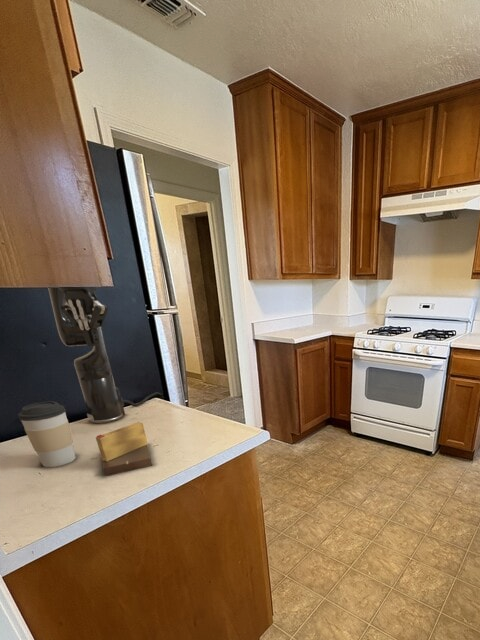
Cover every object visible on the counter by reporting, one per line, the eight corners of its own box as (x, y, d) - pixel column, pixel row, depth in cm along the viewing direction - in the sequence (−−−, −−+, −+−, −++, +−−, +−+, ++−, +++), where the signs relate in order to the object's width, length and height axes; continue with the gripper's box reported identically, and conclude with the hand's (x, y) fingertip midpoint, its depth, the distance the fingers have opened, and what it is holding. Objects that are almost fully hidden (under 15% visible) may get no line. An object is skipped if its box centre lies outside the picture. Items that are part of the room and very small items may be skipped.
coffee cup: (44, 456, 91) (23, 401, 85) (84, 450, 94) (67, 396, 88) (31, 472, 83) (8, 412, 78) (75, 465, 86) (56, 407, 81)
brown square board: (93, 454, 92) (91, 447, 91) (157, 442, 99) (155, 435, 98) (91, 480, 79) (89, 471, 79) (164, 463, 86) (162, 455, 86)
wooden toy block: (143, 443, 93) (138, 421, 91) (147, 444, 92) (142, 422, 90) (102, 460, 84) (95, 436, 82) (106, 461, 83) (99, 437, 81)
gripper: (35, 268, 79) (59, 347, 85) (78, 266, 74) (100, 349, 81) (67, 269, 85) (87, 342, 92) (109, 267, 81) (126, 344, 88)
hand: (93, 345), depth 86 cm, fingers closed
